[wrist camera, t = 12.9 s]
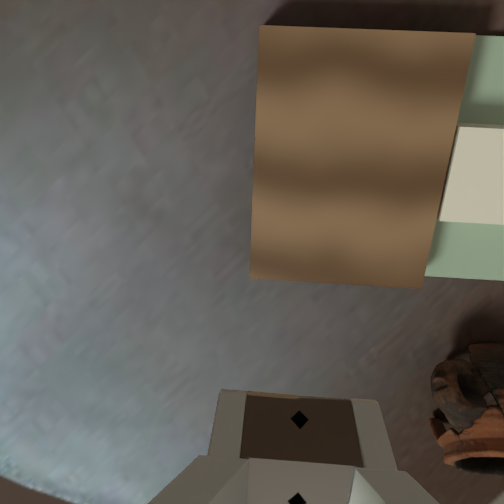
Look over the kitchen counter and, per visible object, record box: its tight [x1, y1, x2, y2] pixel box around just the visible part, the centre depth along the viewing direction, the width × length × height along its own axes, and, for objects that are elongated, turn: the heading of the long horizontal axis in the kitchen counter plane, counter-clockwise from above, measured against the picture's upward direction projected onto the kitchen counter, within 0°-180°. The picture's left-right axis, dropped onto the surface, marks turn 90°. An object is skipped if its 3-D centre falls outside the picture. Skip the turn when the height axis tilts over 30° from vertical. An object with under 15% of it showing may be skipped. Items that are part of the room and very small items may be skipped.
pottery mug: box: [429, 343, 504, 476], centre depth 35 cm, size 12×10×8 cm
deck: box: [249, 25, 476, 289], centre depth 30 cm, size 16×12×2 cm
